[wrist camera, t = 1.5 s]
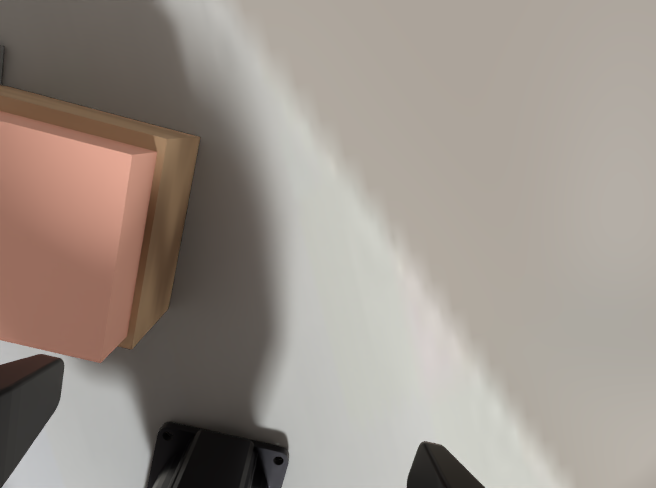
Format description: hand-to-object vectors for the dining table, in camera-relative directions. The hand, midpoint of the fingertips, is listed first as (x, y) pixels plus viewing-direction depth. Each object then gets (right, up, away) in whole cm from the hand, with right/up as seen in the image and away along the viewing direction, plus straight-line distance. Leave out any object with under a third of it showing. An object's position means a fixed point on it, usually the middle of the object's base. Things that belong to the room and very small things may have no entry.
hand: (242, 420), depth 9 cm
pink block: (-8, +4, +7) cm, 11 cm away
